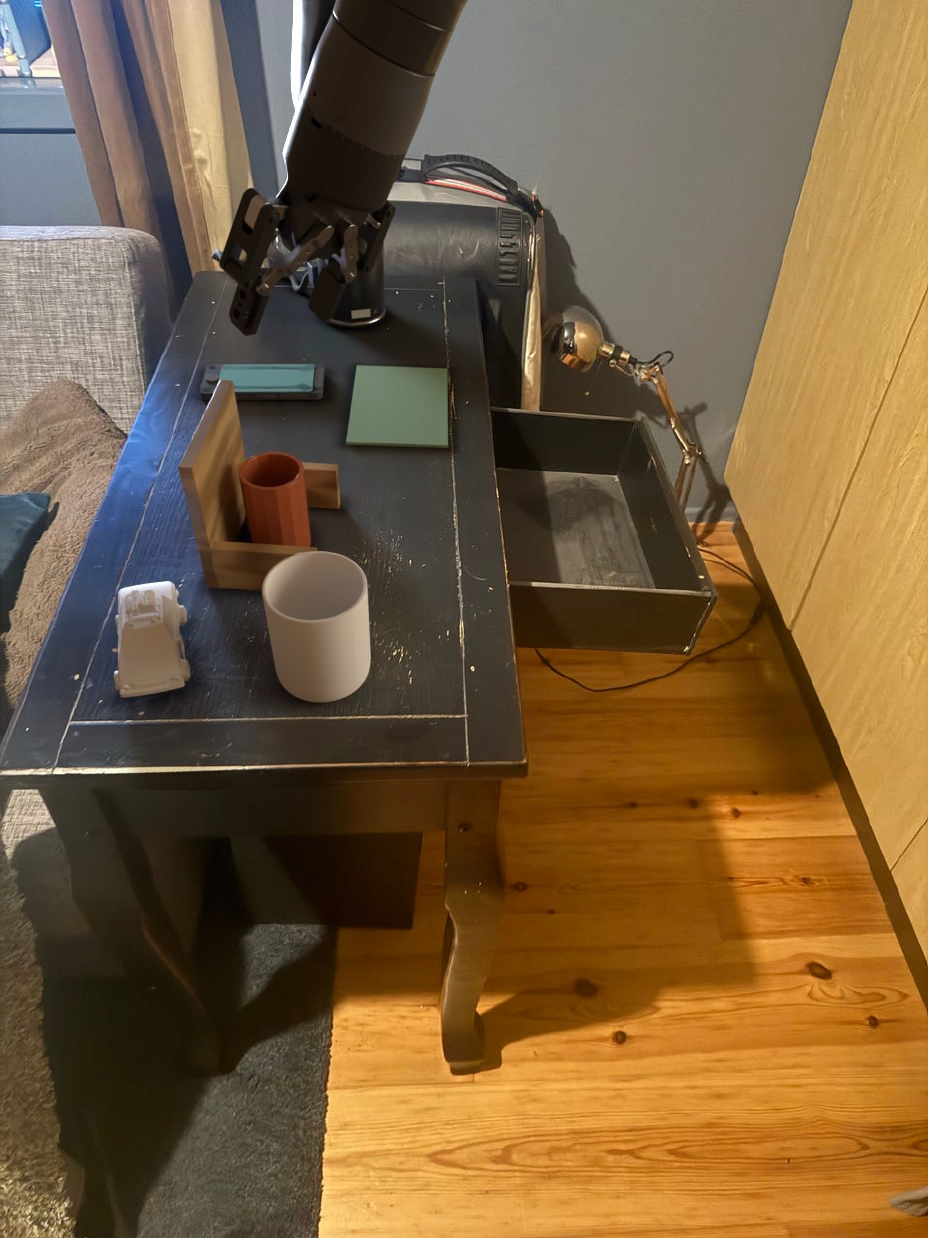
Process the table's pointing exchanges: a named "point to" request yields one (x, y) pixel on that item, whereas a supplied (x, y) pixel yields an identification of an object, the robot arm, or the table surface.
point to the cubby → (235, 498)
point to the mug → (318, 625)
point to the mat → (399, 407)
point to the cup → (275, 499)
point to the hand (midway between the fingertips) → (281, 321)
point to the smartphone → (266, 381)
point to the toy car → (150, 640)
